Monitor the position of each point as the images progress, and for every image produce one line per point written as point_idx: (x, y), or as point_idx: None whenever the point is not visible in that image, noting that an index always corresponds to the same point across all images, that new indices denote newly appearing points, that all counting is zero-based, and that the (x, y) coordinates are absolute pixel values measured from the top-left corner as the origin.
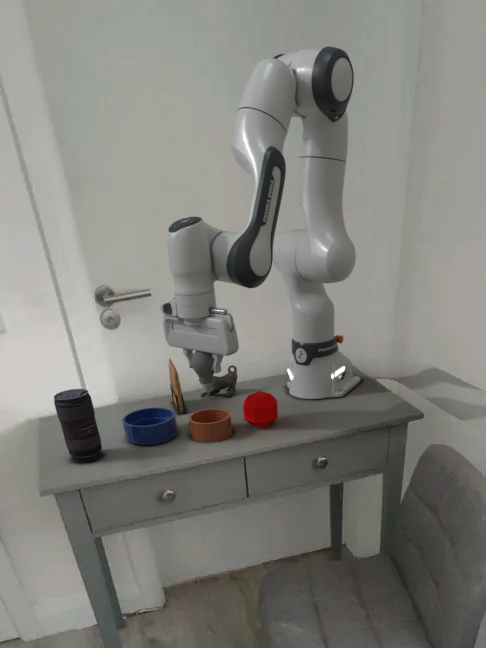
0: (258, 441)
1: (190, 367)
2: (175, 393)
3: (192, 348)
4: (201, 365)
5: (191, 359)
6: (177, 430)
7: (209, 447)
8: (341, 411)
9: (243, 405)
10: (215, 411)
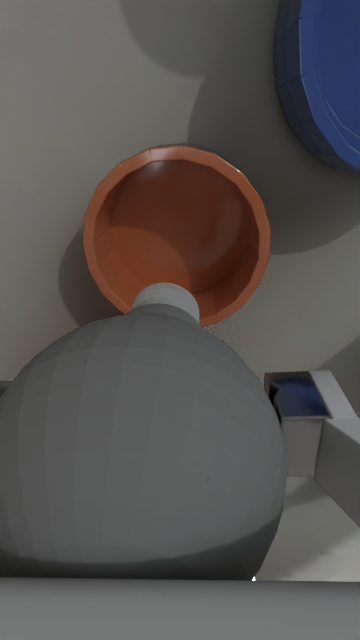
0: (5, 274)
1: (311, 370)
2: None
3: (198, 619)
4: (32, 367)
5: (217, 404)
6: (305, 145)
7: (79, 126)
8: None
9: None
10: (213, 310)
